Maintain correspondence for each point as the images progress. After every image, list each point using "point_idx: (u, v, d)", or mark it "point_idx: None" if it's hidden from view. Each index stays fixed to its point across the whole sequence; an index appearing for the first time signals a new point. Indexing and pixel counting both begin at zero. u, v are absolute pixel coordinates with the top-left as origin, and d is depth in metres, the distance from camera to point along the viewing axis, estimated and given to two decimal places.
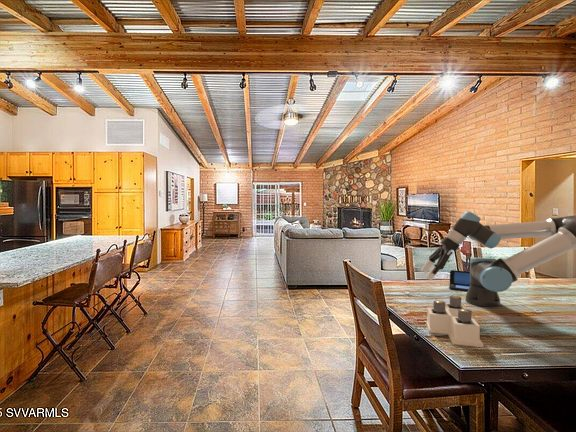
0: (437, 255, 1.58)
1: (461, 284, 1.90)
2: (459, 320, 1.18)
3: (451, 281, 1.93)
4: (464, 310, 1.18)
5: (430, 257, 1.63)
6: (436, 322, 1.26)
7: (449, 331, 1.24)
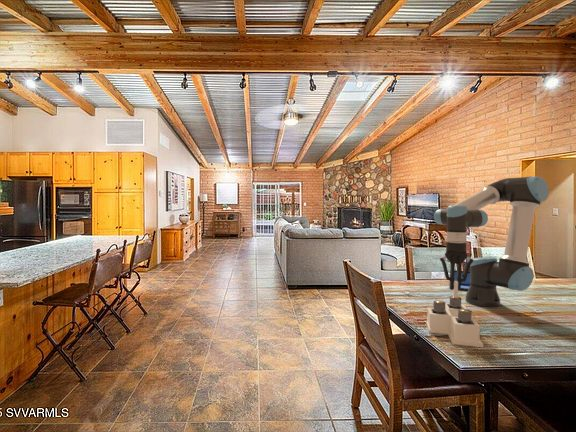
0: None
1: (461, 284, 1.90)
2: (459, 320, 1.18)
3: None
4: (464, 310, 1.18)
5: (451, 279, 1.34)
6: (436, 322, 1.26)
7: (449, 331, 1.24)
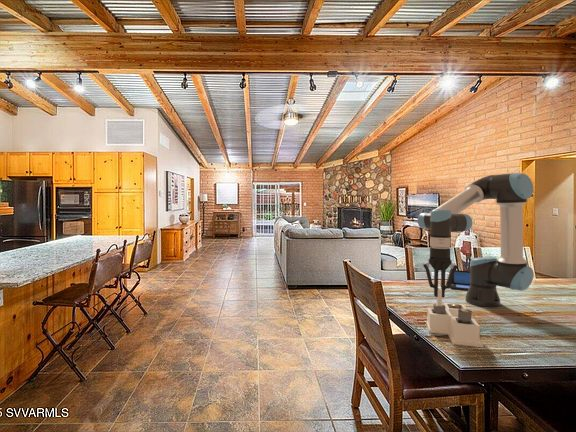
0: (437, 274, 1.28)
1: (461, 283, 1.91)
2: (459, 320, 1.18)
3: None
4: (464, 310, 1.18)
5: (434, 286, 1.28)
6: (436, 322, 1.26)
7: (449, 331, 1.24)
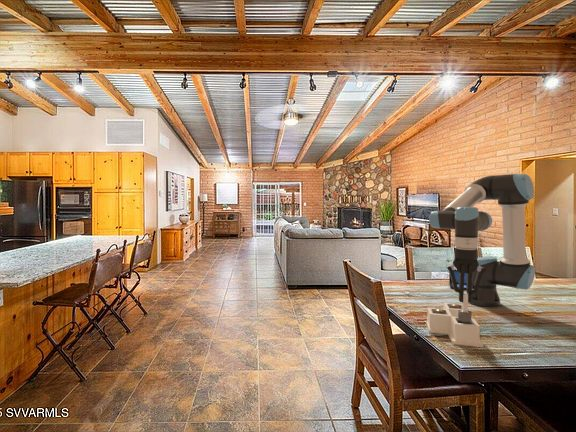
0: None
1: None
2: (459, 321, 1.18)
3: None
4: None
5: (460, 290, 1.18)
6: (436, 322, 1.26)
7: (449, 331, 1.24)
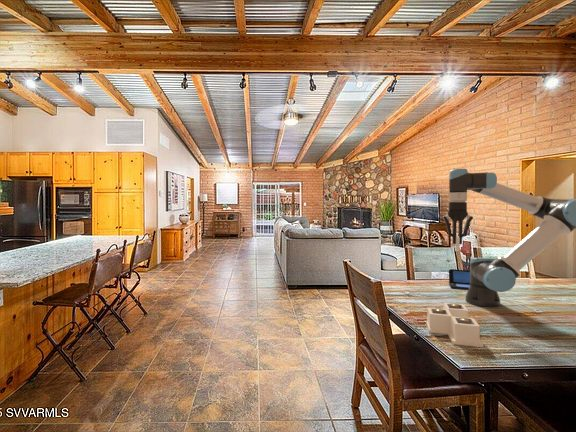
0: None
1: (460, 283, 1.93)
2: None
3: (450, 280, 1.96)
4: (464, 319, 1.19)
5: (453, 235, 1.50)
6: (436, 322, 1.26)
7: (449, 331, 1.24)
